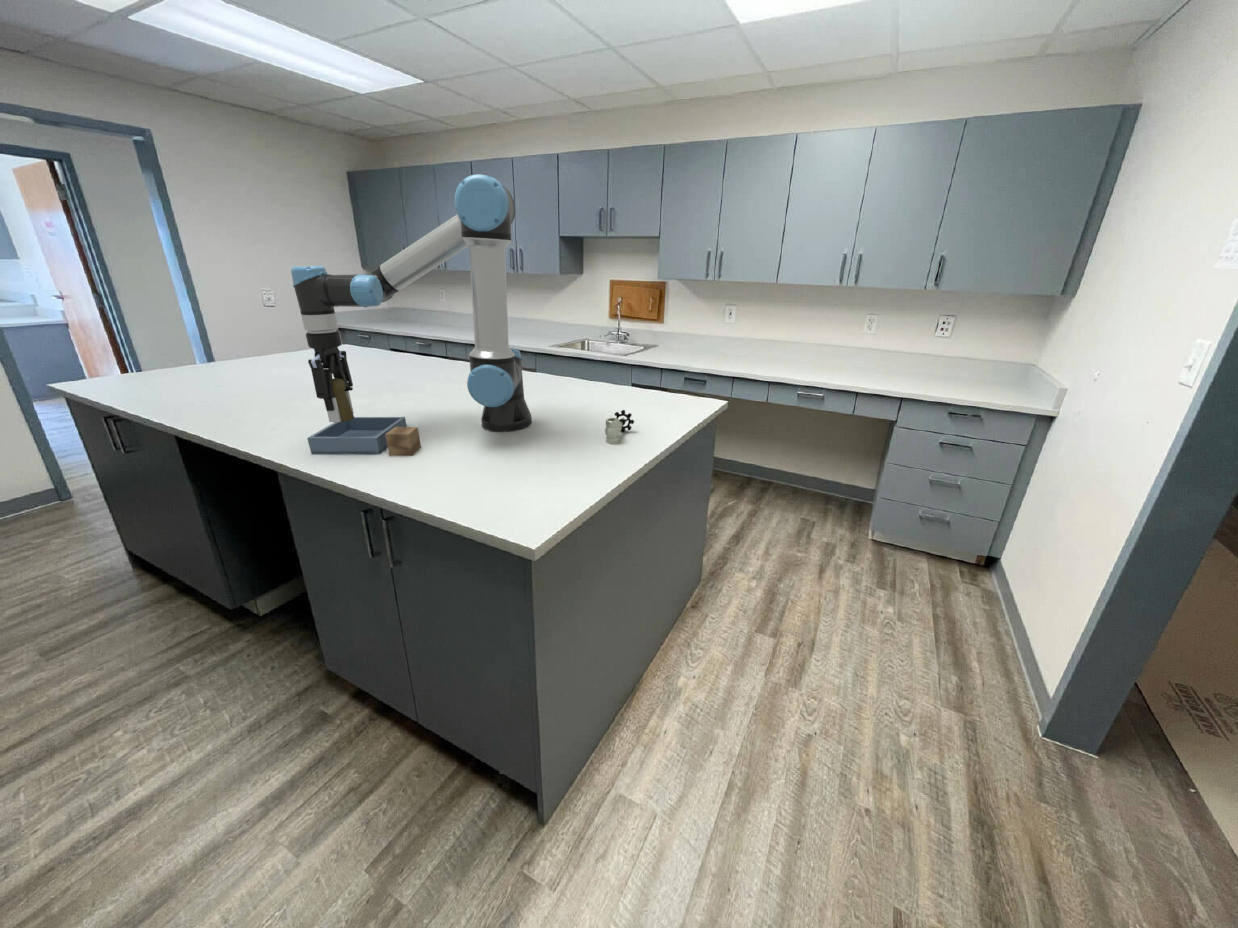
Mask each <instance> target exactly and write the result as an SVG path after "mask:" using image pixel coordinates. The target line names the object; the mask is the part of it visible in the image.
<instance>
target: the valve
mask: <svg viewBox="0 0 1238 928" xmlns="http://www.w3.org/2000/svg"><path fill="white" fill-rule="evenodd" d="M614 416H616V417H608V418H606V419H605V428H604V434H605V443H606V444H608V445H616V444H619V442H620V434H621V433H625V432H626V429H627V431H631V430H632V426H631V425H633V424H635V420H634V419H631V418H632V416H633V415H632V413H630V412H629V413H628V414H626V410H624V409H621V410H620V413H619V412H618V411H616V412H615V413H614ZM620 417H622V418H620ZM624 417H625V418H624ZM619 418H620V419H619ZM626 423H627V425H625V424H626Z"/></svg>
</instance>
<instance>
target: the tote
mask: <svg viewBox="0 0 1238 928" xmlns="http://www.w3.org/2000/svg"><path fill="white" fill-rule="evenodd" d="M407 425H408V424H407V419H406V416H354V419H352V420H349V421H345V422H332V423H331V424H329V425H327V426H326V427H323V428H322V429H320V430H318V431H317V432H315V433H313V434H312V435H310V436H308V437H307V438H306V439H307V443H308V445H309V446H308V447H309V450H310V454H311V455H381V454H382V453H383V452H384V451H386V450H388V446H387V441H386V436H385V434H386V433H388V432H389V431H390V430H392V429H393V428H394V427H408V426H407Z"/></svg>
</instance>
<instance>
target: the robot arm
mask: <svg viewBox="0 0 1238 928" xmlns="http://www.w3.org/2000/svg"><path fill="white" fill-rule="evenodd" d="M455 190H456V191H455V194H454V207H455V211H456V215H454V216H453V217H451V218H449V219H448V220H446V221H444V223H441V224H440V225H438V226H437V227H436V228H434V229H433V230H431V231H430V232H428V233H427V234H425V235H424V236H422V237H421V238H419V239H418V240H416V241H414V242H413V243H412V244H410V245H409V246H407V247H406V248H404V249H403V250H401V251H399V252H398V253H397V254H395V255H393V256H391V258H389V259H387V260H386V261H384V262H383V263H381V264H380V265H379V266H377V267H375V268H374V269H372V270H370V271H369V272H367V273H358V274H357V273H355V274H329V273H328V272H327V270H326V268H325V266H323V265H295V266H293V267H292V268H291V271H290V273H291V277H292V278H291V279H292V286H293V288H294V291H295V295H296V299H297V302H298V303H297V304H298V307H299V308H298V309H299V310H300V315H301V321H302V323H303V328H304V330H305V331H306V333H305V338H306V342H307V346H308V347H309V348H310V349H313V351H314V358H313V359H312V358H311V359H308V360H307V362H308V365H309V367H310V370H311V375H312V379H313V384H314V391H315V394H316V398H317V399H319V400H323V401H324V402H323V403H324V405H325V410H326V413H327V418H328V421H329V423H334V422H341V419H340V414H339V410H338V405H337V401H336V398H333V383H332V379H342V380H343V381H344V382H345V385H346V388H345V390H344V391H345V394H346V396H347V399H348V402H349V404H350V407H351V410H352V412H353V415H354V412H355V411H354V409H353V404H352V399H351V395H350V391H353V390H354V387H353V386H354V383H353V379H352V376H351V372H350V367H349V364H348V359H347V351H346V350H340V349H339V347H341V346H342V339H341V335H340V332H339V331H338V329H339V324H338V319H337V315H336V312H335V308H336V307H337V308H338V307H346V308H347V307H348V308H349V307H352V308H353V307H356V308H357V307H361V308H370V307H371V308H372V307H379V306H381V304H382V303H385V302H387V301H389V300H391V299H392V298H393V297H394V296H395V294H397V293H398V292H399V291H401V290H402V289H404V288H406V287H407V286H409V285H410V284H412V283H413V282H415V281H416V280H418V279H420V278H421V277H423V276H425V275H426V274H427V273H429V272H431V271H432V270H434V269H436V268H437V267H439V266H440V265H442V264H443V263H445V262H446V261H448V260H450V259H451V258H453V257H454V256H456V255H457V254H459V253H460V252H462V251H463V250H465V249H466V248H468V251H469V252H468V253H469V269H470V285H471V286H470V288H471V302H472V321H473V335H474V347H473V349H472V350H471V351H470V352H469V369H470V372H469V373H468V377H467V381H466V385H467V390H468V392H469V395H470V396H471V398H472V399H473V400H474V401H475V402H476V403H478V404H479V405H480V406H483V410H482V414H481V421H480V422H481V428H483V429H484V430H486V431H491V432H514V431H519V430H522V429H525V428H527V427H528V428H529V427H530V426H531V425H532V423H533V419H532V418H533V417H532V413H531V411H530V409H529V407H528V404H527V402H526V399H525V393H524V392H525V391H524V390H525V389H524V377H523V368H522V361H523V358H522V356H521V354H522V353H521V351H520V350H519V349H518V348H510V347H509V346H510V345H509V318H508V290H507V288H508V287H507V263H506V261H507V259H506V249H507V247H508V246H509V245H510V244H511V243H512V225H513V222H514V220H515V217H516V203H515V200H514V198H513V196H512V194H511V192H510V191H509V190H508V189H507V188H506V187H505V186H504V185H502V184H501V182H500V181H499V180H497V179H496V178H495V177H493V176H490V175H485V174H479V173H478V174H476V173H475V174H471V175H469V176H467V177H465V178H464V179H462V181H461V182H460V183H459V184H458V186H457V188H456V189H455Z"/></svg>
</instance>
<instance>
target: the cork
mask: <svg viewBox="0 0 1238 928" xmlns="http://www.w3.org/2000/svg"><path fill="white" fill-rule="evenodd" d="M332 383H333V398H336V401H337V405H338V410H339V414H340V419H341V422H345V421H349V420H352V419H354V417H355V416H354V414H353V412H354V411H353V412H352V410H351V407H350V404H349V402H348V399H347V396H346V394H345V391H344V390H345V388H346V385H345V382H344V381H343V380H342V379H335V378H332Z"/></svg>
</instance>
